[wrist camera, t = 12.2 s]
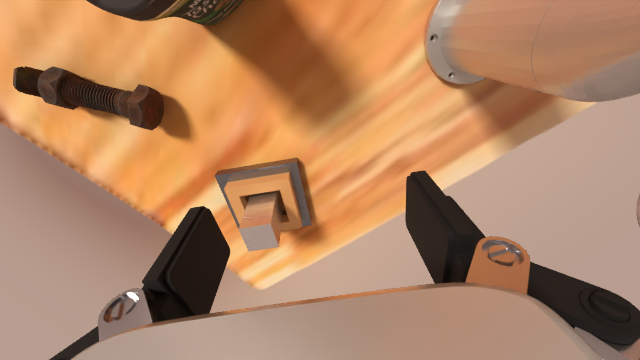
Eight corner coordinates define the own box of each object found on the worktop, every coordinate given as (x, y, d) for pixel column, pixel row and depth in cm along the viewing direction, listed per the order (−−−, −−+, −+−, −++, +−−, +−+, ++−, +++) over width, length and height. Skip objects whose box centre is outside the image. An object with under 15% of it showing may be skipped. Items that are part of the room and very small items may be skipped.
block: (277, 184, 41) (270, 223, 33) (284, 204, 44) (278, 246, 35) (252, 188, 42) (238, 228, 33) (260, 208, 44) (248, 251, 35)
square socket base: (297, 157, 39) (296, 168, 36) (311, 219, 46) (311, 232, 43) (217, 171, 40) (210, 182, 37) (243, 230, 46) (239, 243, 43)
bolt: (49, 69, 33) (168, 98, 35) (41, 106, 33) (160, 132, 35) (-2, 46, 27) (145, 83, 29) (-12, 91, 27) (136, 124, 29)
